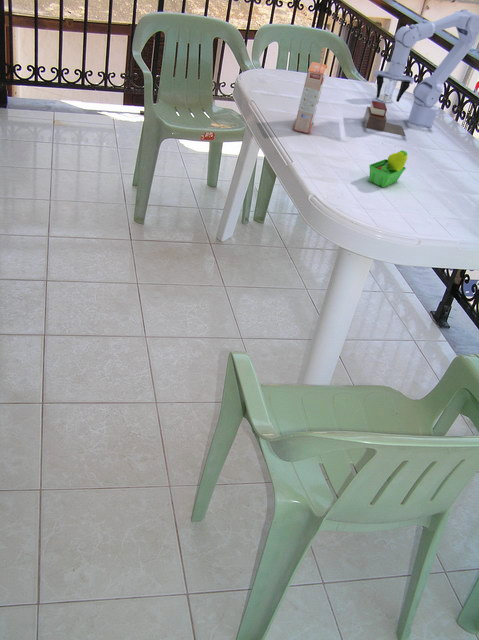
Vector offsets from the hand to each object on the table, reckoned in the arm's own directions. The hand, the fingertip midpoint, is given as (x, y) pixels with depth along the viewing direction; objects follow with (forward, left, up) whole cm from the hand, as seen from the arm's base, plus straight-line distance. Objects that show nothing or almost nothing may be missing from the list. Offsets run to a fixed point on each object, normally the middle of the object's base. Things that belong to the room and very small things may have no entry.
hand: (387, 99), depth 258 cm
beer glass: (-5, -35, -10) cm, 37 cm away
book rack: (0, +9, -9) cm, 13 cm away
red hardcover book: (+4, +9, -3) cm, 10 cm away
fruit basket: (+4, +62, -10) cm, 63 cm away
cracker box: (+30, +24, -10) cm, 40 cm away
